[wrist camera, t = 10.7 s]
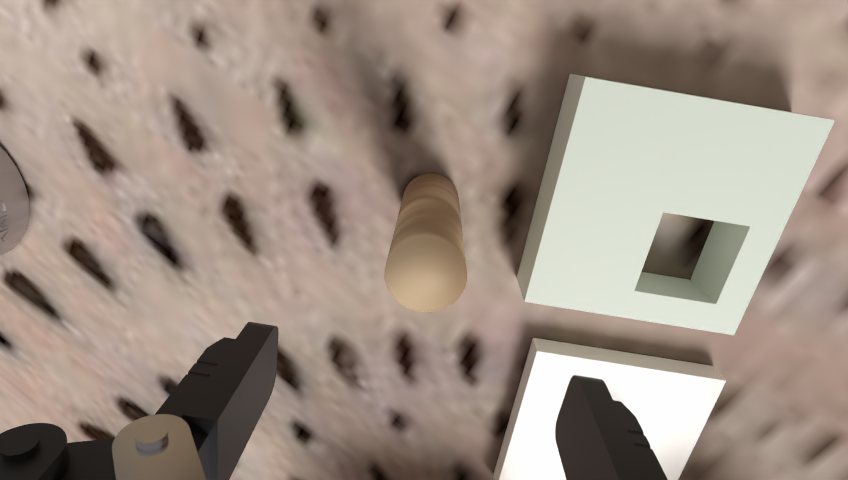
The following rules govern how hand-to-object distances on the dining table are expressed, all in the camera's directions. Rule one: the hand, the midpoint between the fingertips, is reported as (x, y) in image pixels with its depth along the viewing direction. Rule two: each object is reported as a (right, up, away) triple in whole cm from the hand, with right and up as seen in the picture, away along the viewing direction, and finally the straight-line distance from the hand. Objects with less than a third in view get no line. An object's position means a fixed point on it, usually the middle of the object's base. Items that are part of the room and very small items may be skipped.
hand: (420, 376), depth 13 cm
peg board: (+13, +6, +15) cm, 20 cm away
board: (+12, -9, +21) cm, 25 cm away
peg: (+1, +6, +15) cm, 16 cm away
